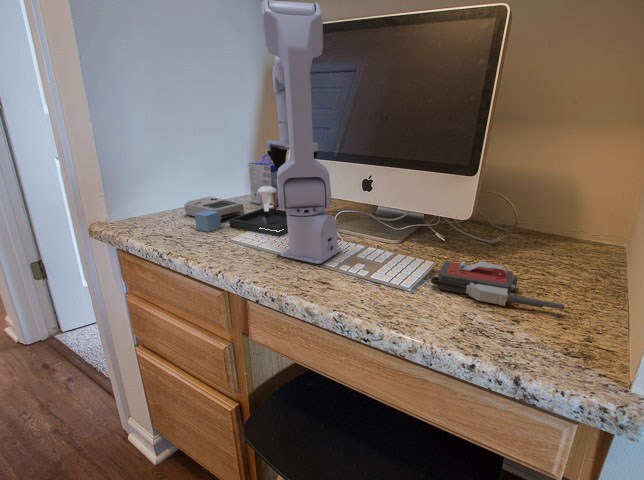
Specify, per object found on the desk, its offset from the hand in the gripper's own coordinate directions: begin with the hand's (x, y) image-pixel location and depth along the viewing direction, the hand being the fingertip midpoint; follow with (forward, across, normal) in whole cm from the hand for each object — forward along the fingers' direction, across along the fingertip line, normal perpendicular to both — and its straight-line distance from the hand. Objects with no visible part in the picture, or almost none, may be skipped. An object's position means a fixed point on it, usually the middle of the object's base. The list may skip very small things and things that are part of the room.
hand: (294, 178), depth 97 cm
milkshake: (+10, +2, +8) cm, 13 cm away
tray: (+10, +2, +8) cm, 13 cm away
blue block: (+10, +13, +18) cm, 25 cm away
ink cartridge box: (+11, +17, -9) cm, 22 cm away
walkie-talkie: (+11, -55, +22) cm, 60 cm away
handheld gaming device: (+11, +21, +9) cm, 25 cm away
